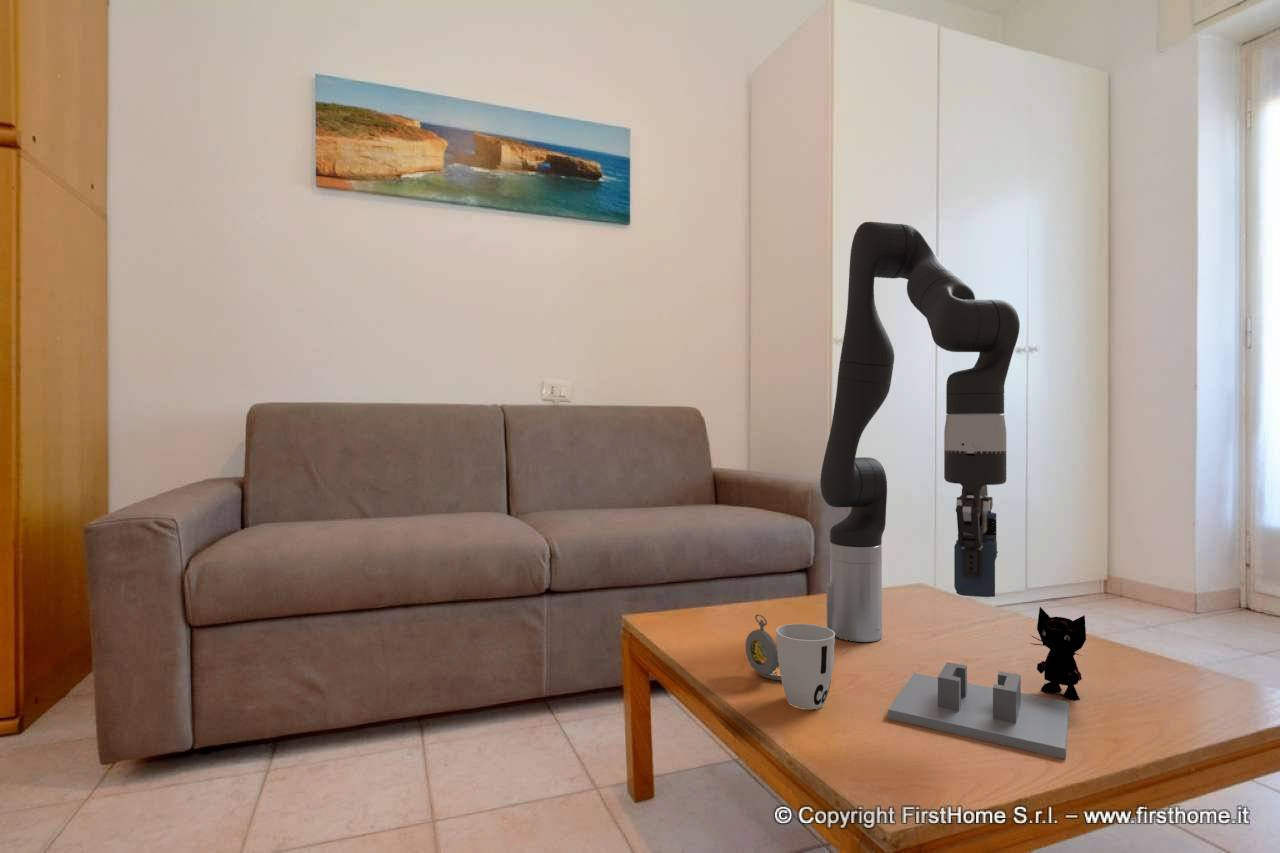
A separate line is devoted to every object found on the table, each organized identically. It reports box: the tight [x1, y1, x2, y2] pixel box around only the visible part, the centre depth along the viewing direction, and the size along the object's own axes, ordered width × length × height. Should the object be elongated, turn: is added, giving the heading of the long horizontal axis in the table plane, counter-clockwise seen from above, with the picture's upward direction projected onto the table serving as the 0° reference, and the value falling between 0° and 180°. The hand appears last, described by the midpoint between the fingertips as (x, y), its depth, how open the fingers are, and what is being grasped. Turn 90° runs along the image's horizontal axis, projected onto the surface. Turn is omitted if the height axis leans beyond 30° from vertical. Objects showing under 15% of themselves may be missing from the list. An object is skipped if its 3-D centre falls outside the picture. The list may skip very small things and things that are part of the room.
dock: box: [887, 661, 1070, 760], centre depth 90 cm, size 20×16×5 cm
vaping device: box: [953, 506, 998, 598], centre depth 90 cm, size 3×5×12 cm, turn 76°
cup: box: [775, 623, 836, 710], centre depth 95 cm, size 8×8×10 cm
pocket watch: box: [745, 614, 782, 681], centre depth 105 cm, size 8×8×10 cm
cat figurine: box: [1029, 606, 1087, 701], centre depth 98 cm, size 7×7×12 cm
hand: (974, 574), depth 90 cm, fingers closed on vaping device, 3 cm apart
